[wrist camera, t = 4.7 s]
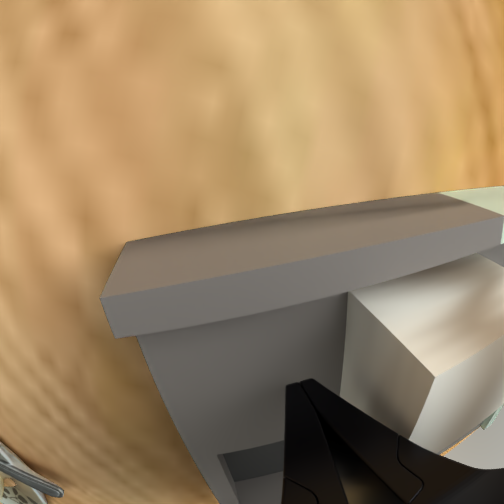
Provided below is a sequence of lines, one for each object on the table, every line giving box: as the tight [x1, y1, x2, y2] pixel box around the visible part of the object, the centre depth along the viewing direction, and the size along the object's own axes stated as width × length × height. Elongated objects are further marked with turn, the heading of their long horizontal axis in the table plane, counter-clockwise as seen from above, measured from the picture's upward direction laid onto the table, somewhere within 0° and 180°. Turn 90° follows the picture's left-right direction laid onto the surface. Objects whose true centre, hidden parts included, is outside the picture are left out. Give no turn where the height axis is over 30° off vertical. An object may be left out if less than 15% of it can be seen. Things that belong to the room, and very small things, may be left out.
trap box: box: [100, 186, 504, 504], centre depth 11 cm, size 19×16×4 cm
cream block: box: [340, 253, 504, 453], centre depth 8 cm, size 6×5×4 cm
